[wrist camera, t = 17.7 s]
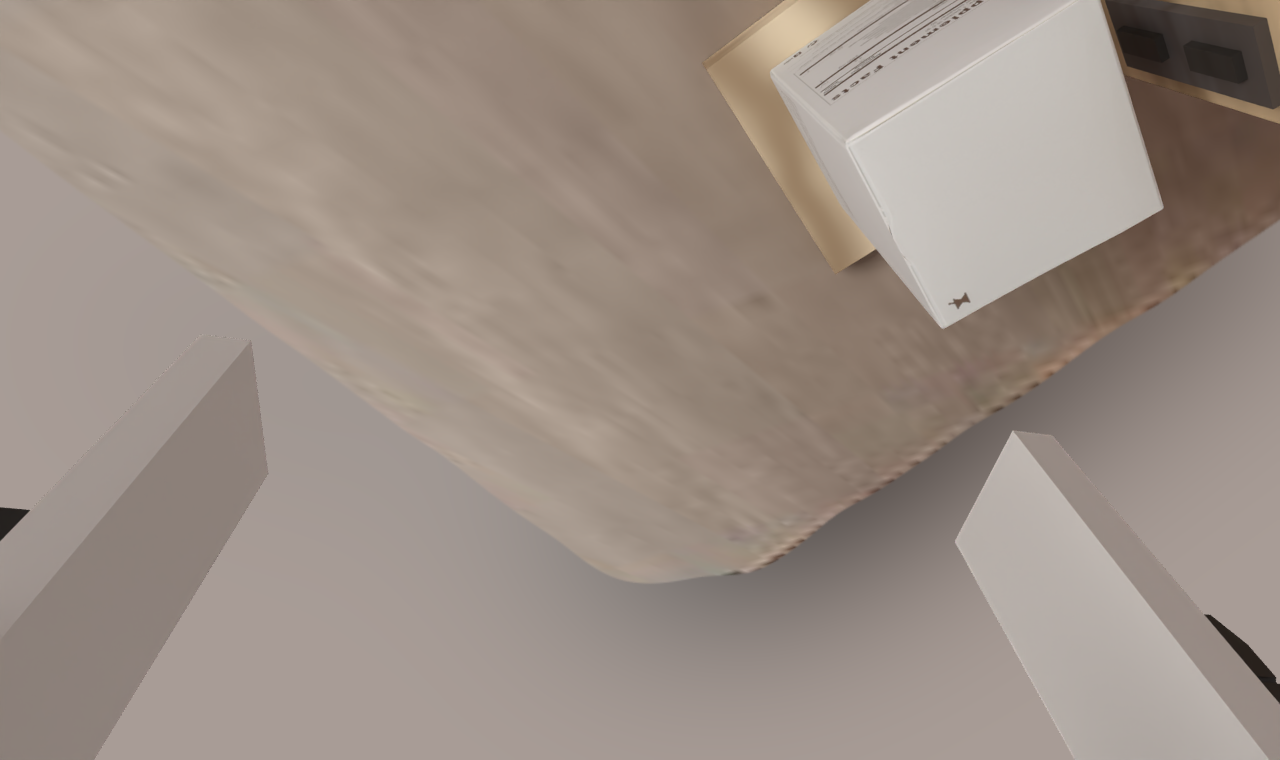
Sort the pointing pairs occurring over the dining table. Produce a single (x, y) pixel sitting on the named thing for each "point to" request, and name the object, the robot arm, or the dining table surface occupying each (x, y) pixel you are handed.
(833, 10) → the maple pad
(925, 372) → the dining table surface
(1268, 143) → the dining table surface
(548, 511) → the dining table surface
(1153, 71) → the oak post
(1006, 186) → the supplement box
